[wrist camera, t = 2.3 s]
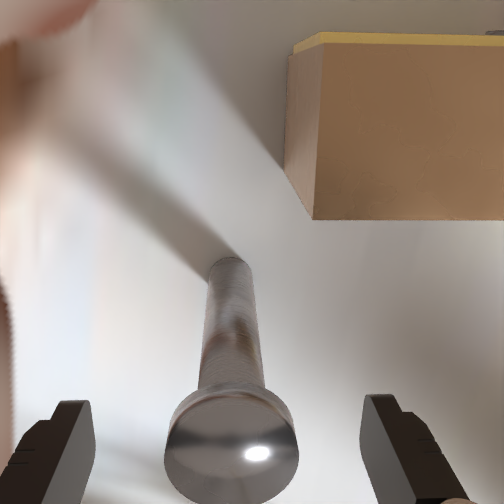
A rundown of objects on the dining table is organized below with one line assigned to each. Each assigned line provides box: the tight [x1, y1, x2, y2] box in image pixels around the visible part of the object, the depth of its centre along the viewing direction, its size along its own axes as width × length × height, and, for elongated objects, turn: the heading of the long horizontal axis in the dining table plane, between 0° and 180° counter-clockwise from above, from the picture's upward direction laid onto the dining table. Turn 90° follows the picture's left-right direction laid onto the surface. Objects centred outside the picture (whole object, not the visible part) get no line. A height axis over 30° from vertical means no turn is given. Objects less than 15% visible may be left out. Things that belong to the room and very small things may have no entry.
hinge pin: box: [164, 258, 299, 504], centre depth 18 cm, size 4×4×12 cm
